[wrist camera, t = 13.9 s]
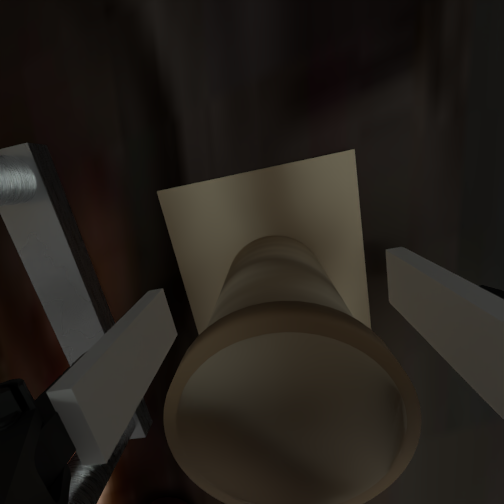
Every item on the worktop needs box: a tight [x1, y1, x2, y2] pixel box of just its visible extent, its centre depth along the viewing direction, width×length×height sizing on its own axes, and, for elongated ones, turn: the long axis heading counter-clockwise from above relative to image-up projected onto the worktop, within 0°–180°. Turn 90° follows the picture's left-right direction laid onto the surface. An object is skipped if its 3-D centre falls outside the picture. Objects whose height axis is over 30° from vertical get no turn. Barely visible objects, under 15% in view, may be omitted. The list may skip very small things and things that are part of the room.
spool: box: [163, 235, 421, 504], centre depth 10 cm, size 6×6×9 cm
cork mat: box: [157, 149, 371, 335], centre depth 15 cm, size 10×12×1 cm
